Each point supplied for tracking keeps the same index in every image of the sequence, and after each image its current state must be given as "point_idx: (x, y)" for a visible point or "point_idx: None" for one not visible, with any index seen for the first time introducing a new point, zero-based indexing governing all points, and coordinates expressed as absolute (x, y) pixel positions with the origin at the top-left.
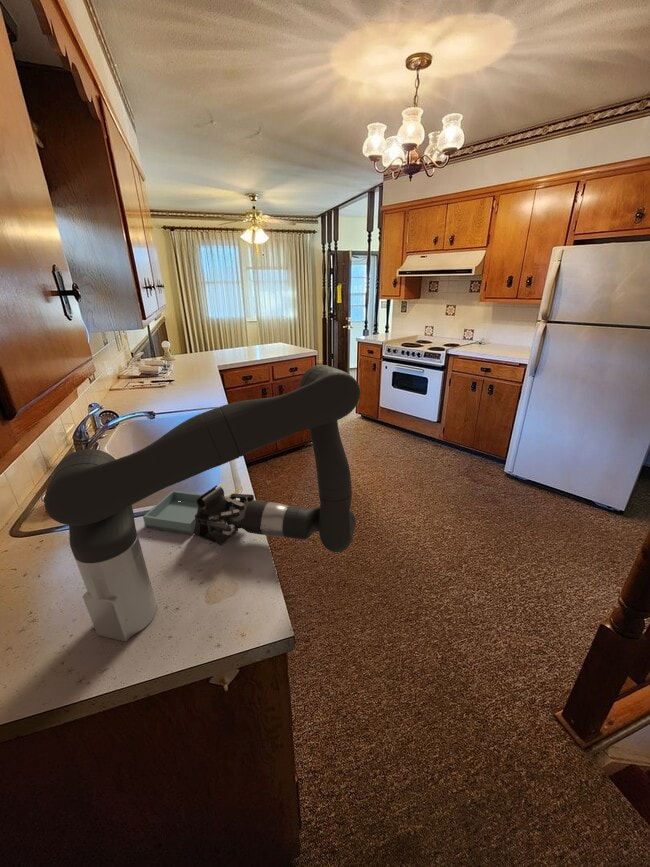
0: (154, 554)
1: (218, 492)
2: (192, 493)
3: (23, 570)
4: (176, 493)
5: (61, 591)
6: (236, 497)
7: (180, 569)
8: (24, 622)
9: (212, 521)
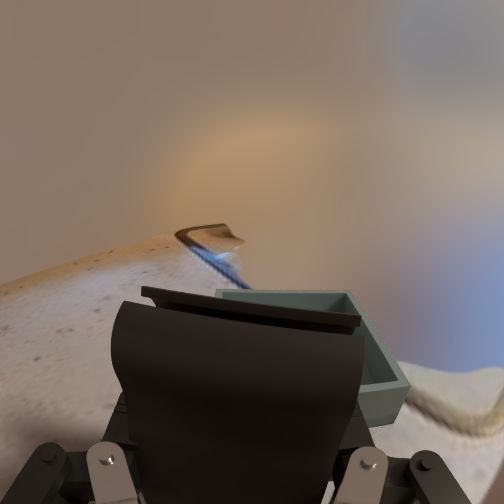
0: (109, 373)
1: (289, 374)
2: (371, 326)
3: (106, 256)
4: (348, 301)
5: (46, 294)
6: (422, 501)
7: (33, 447)
8: (8, 288)
9: (56, 470)
